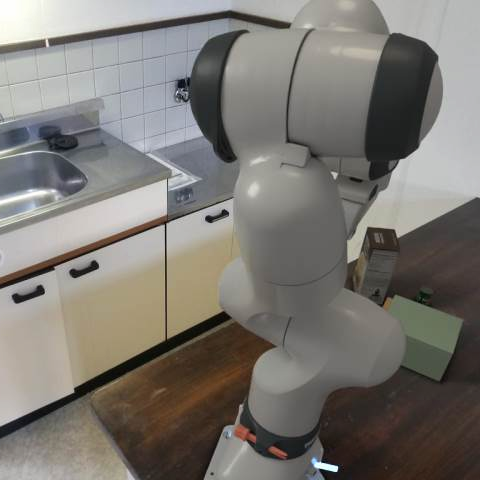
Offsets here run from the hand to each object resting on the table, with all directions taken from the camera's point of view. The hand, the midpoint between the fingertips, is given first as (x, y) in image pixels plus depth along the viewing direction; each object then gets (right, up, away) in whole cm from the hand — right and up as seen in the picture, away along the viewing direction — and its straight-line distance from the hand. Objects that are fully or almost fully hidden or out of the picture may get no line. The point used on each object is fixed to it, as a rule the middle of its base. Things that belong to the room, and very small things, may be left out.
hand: (348, 236), depth 100 cm
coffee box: (+14, -14, +25) cm, 32 cm away
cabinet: (+17, -24, +9) cm, 31 cm away
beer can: (+26, -16, +22) cm, 37 cm away
